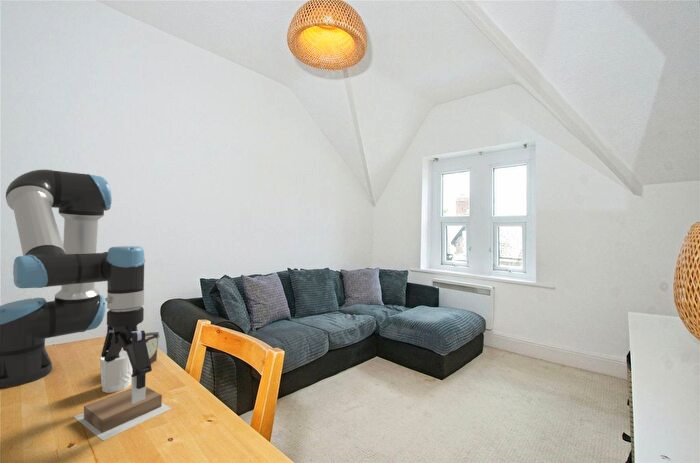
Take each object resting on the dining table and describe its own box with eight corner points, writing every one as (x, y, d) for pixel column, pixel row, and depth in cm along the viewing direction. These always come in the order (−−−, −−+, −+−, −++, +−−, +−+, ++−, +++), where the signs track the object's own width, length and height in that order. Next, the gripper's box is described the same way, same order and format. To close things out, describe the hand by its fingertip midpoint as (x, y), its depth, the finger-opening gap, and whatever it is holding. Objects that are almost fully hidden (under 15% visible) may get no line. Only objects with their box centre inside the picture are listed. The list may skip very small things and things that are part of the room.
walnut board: (83, 418, 77) (83, 406, 77) (141, 395, 88) (142, 384, 88) (102, 433, 72) (102, 419, 72) (161, 406, 83) (161, 394, 83)
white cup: (115, 398, 88) (116, 361, 88) (92, 394, 89) (92, 359, 89) (139, 384, 95) (140, 351, 95) (117, 381, 97) (118, 348, 97)
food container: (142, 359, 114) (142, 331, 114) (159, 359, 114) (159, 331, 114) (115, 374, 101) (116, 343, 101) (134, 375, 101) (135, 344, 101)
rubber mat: (73, 419, 78) (73, 416, 78) (140, 393, 90) (140, 390, 90) (102, 444, 69) (103, 440, 69) (171, 411, 82) (171, 408, 82)
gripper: (86, 304, 83) (85, 386, 83) (134, 319, 70) (133, 415, 70) (119, 299, 89) (118, 375, 89) (168, 311, 76) (167, 400, 76)
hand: (124, 393), depth 80 cm, fingers open, 13 cm apart
